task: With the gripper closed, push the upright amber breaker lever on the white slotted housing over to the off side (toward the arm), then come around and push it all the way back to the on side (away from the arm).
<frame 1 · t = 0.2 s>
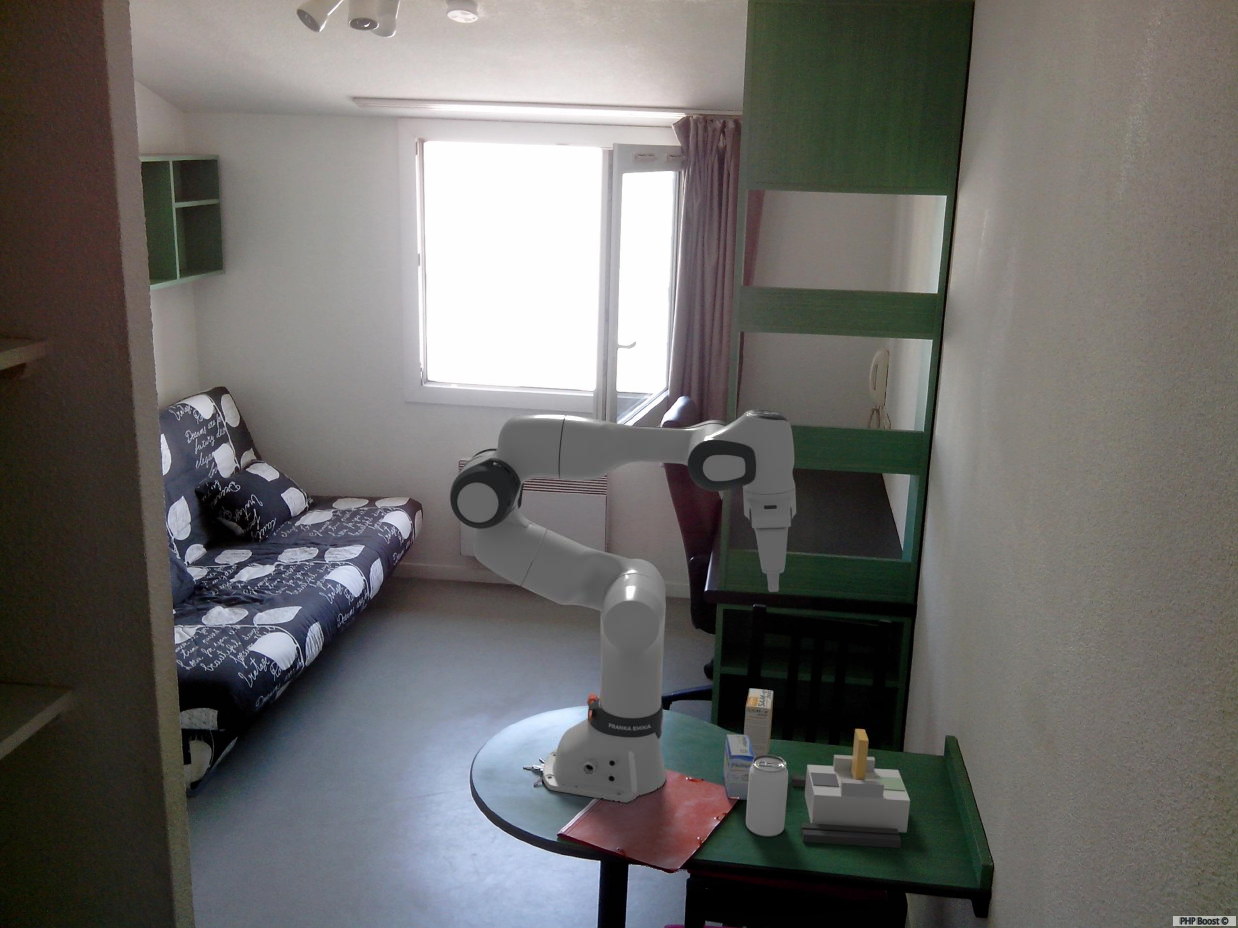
hand: (772, 580, 182), 39 cm above the table, tool pointing down, fingers open, 8 cm apart
medicine box: (737, 788, 190), on the table
white slotted housing: (854, 812, 183), on the table
dark grey flat bar: (848, 835, 176), on the table
cord back: (835, 786, 191), on the table
supplement box: (755, 762, 199), on the table
can: (764, 827, 178), on the table
lever: (859, 757, 181), point 11 cm above the table, hinge at 0.0°
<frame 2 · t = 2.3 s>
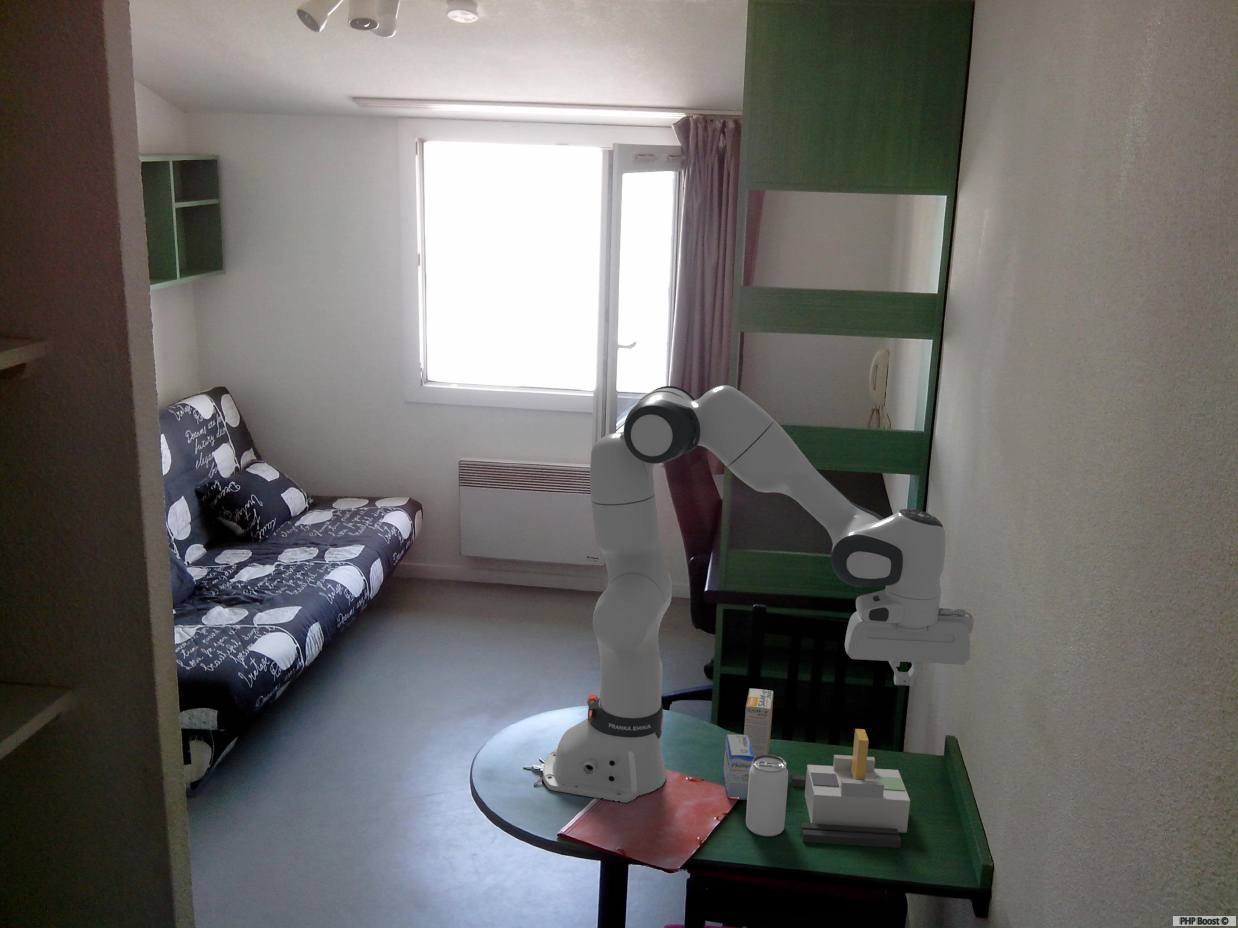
hand: (903, 683, 177), 25 cm above the table, tool pointing down, fingers closed
nothing on the table moved.
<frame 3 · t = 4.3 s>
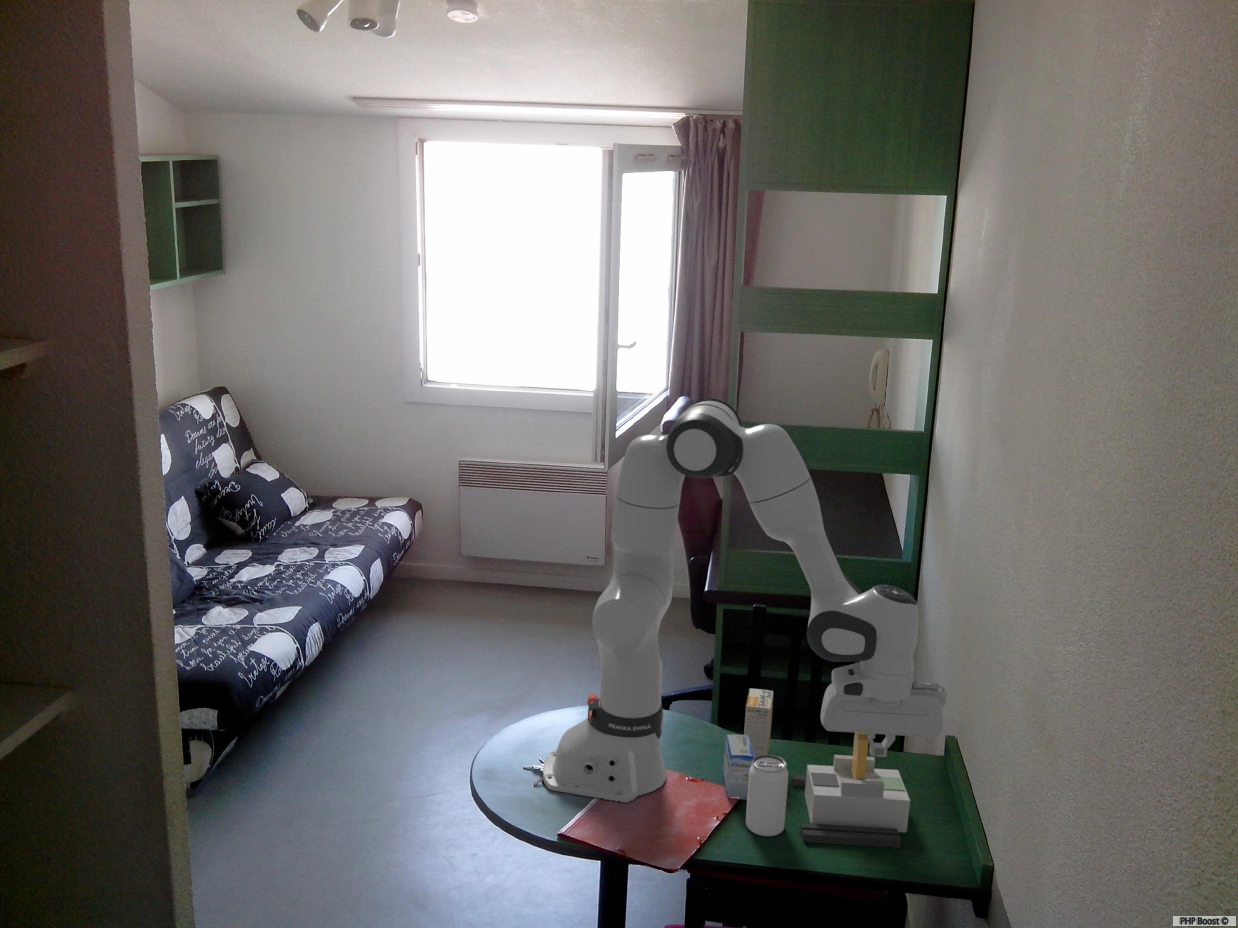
hand: (877, 754, 180), 11 cm above the table, tool pointing down, fingers closed
lever: (859, 757, 181), point 11 cm above the table, hinge at -0.2°, touching gripper
everything else where it was.
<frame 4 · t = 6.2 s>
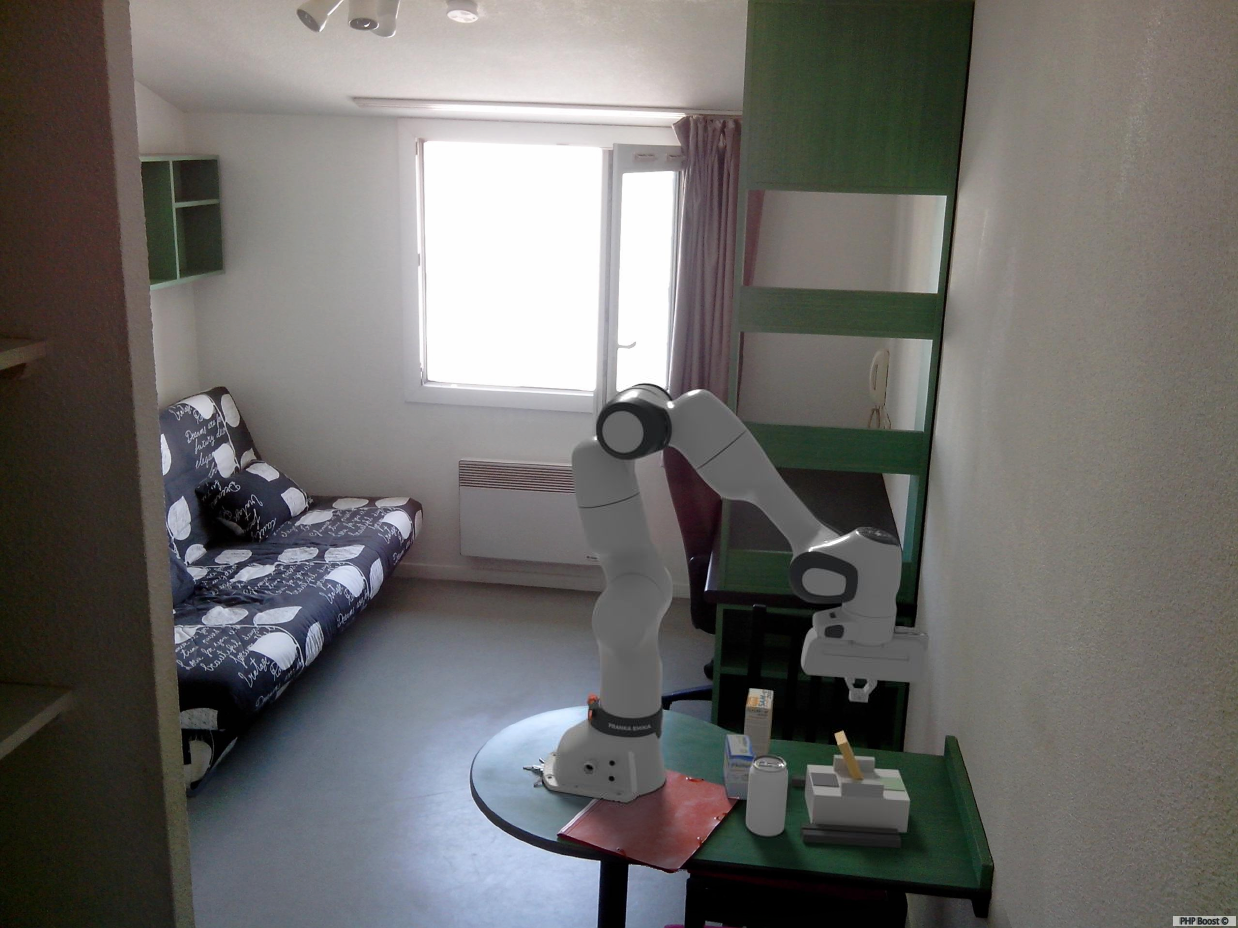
hand: (858, 700, 178), 21 cm above the table, tool pointing down, fingers closed
lever: (850, 759, 181), point 10 cm above the table, hinge at -26.3°
everything else where it was.
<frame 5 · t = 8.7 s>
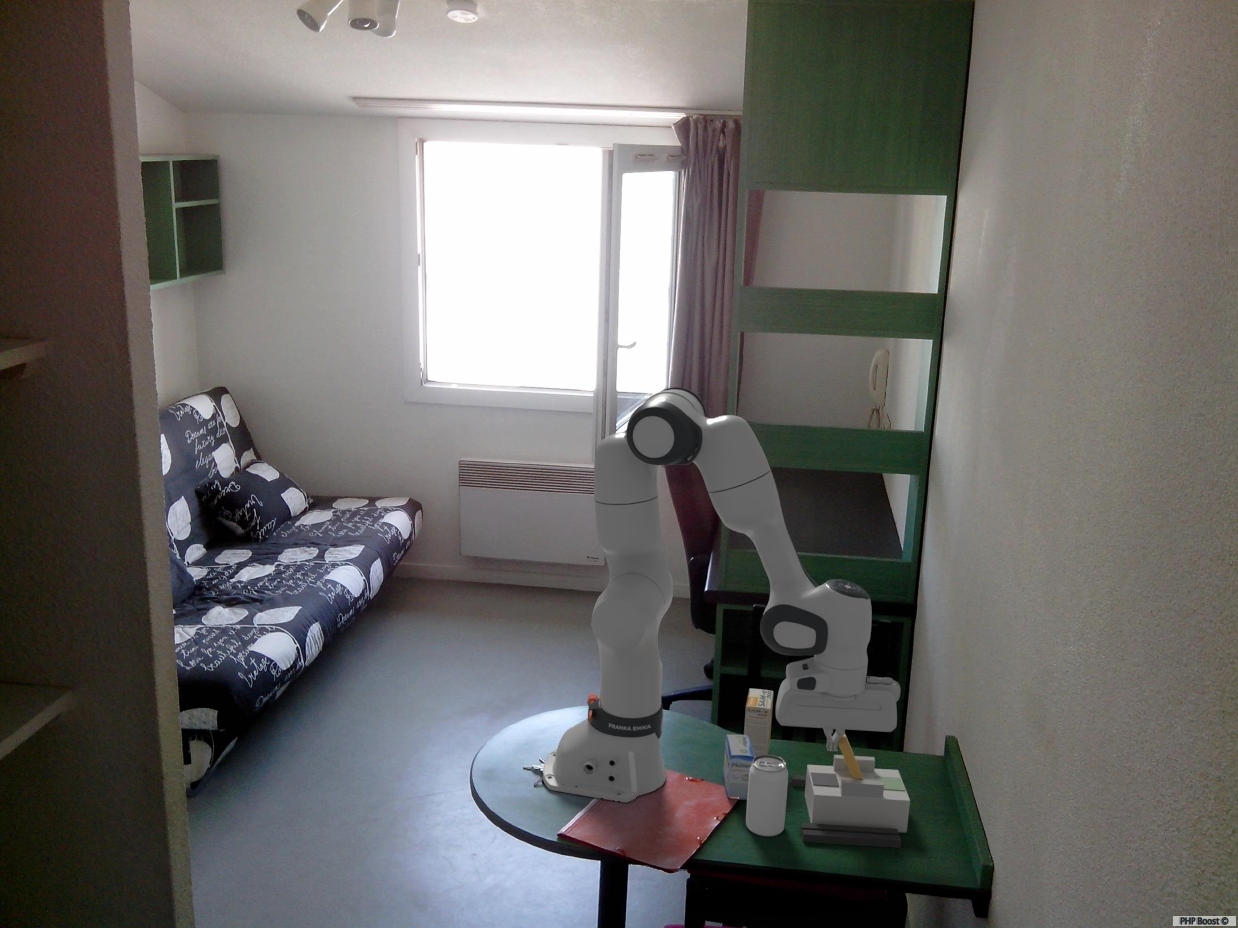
hand: (832, 749, 180), 12 cm above the table, tool pointing down, fingers closed, pressing on lever
lever: (850, 759, 181), point 10 cm above the table, hinge at -25.6°, touching gripper
everything else where it was.
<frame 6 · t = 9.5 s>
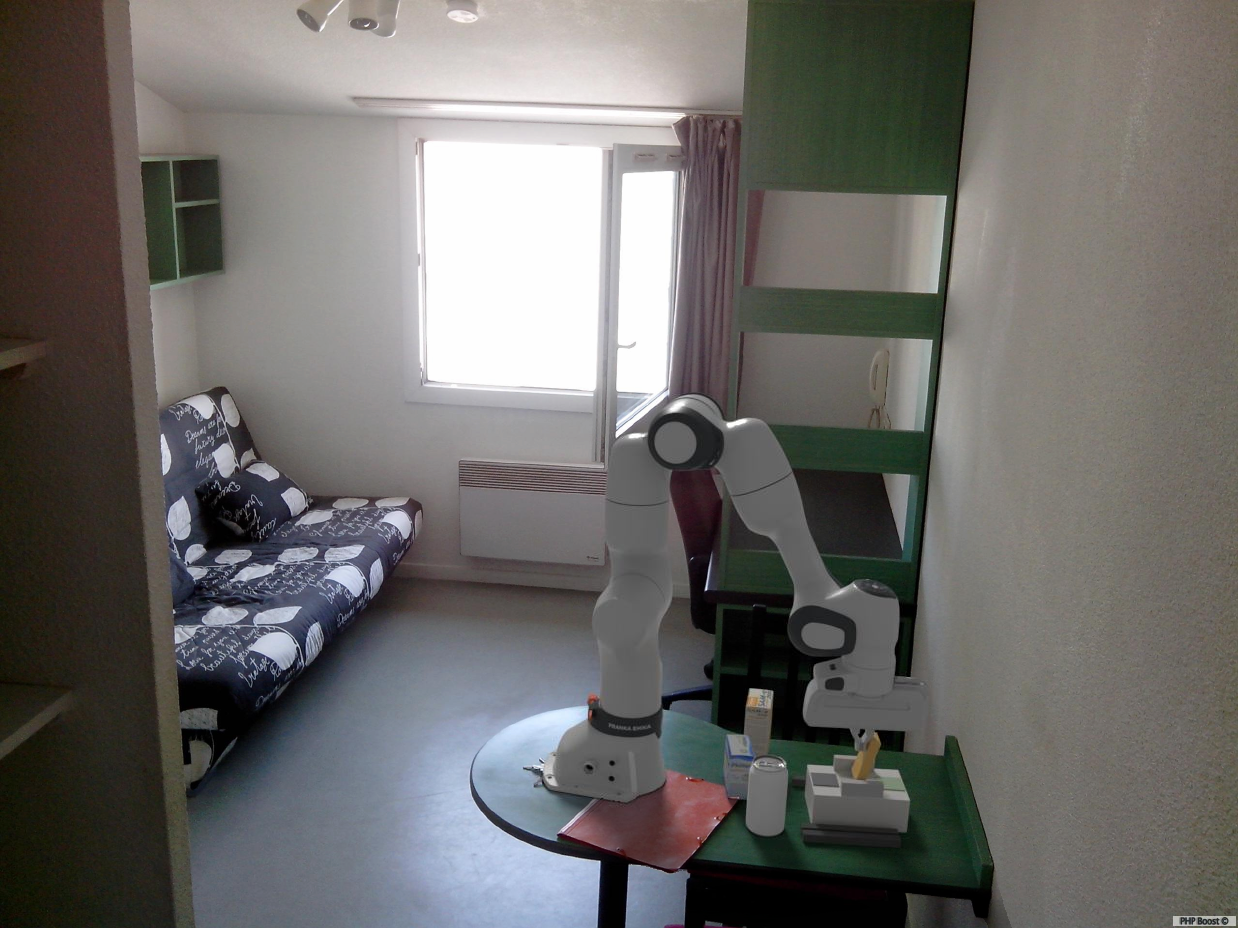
hand: (860, 749, 180), 12 cm above the table, tool pointing down, fingers closed
lever: (865, 758, 181), point 10 cm above the table, hinge at 15.8°, touching gripper
everything else where it was.
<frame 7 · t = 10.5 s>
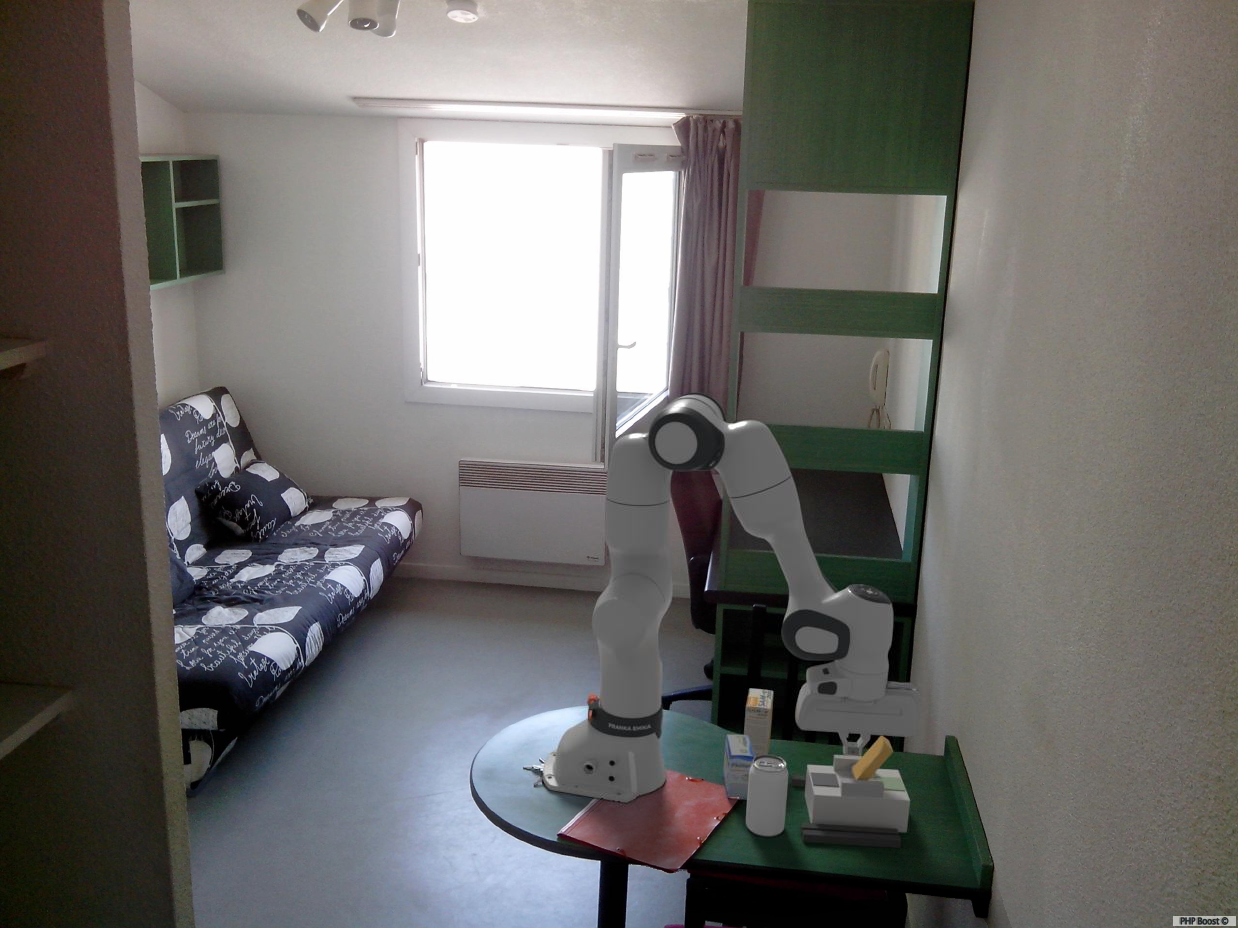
hand: (851, 753, 181), 11 cm above the table, tool pointing down, fingers closed
lever: (870, 761, 181), point 10 cm above the table, hinge at 33.6°
everything else where it was.
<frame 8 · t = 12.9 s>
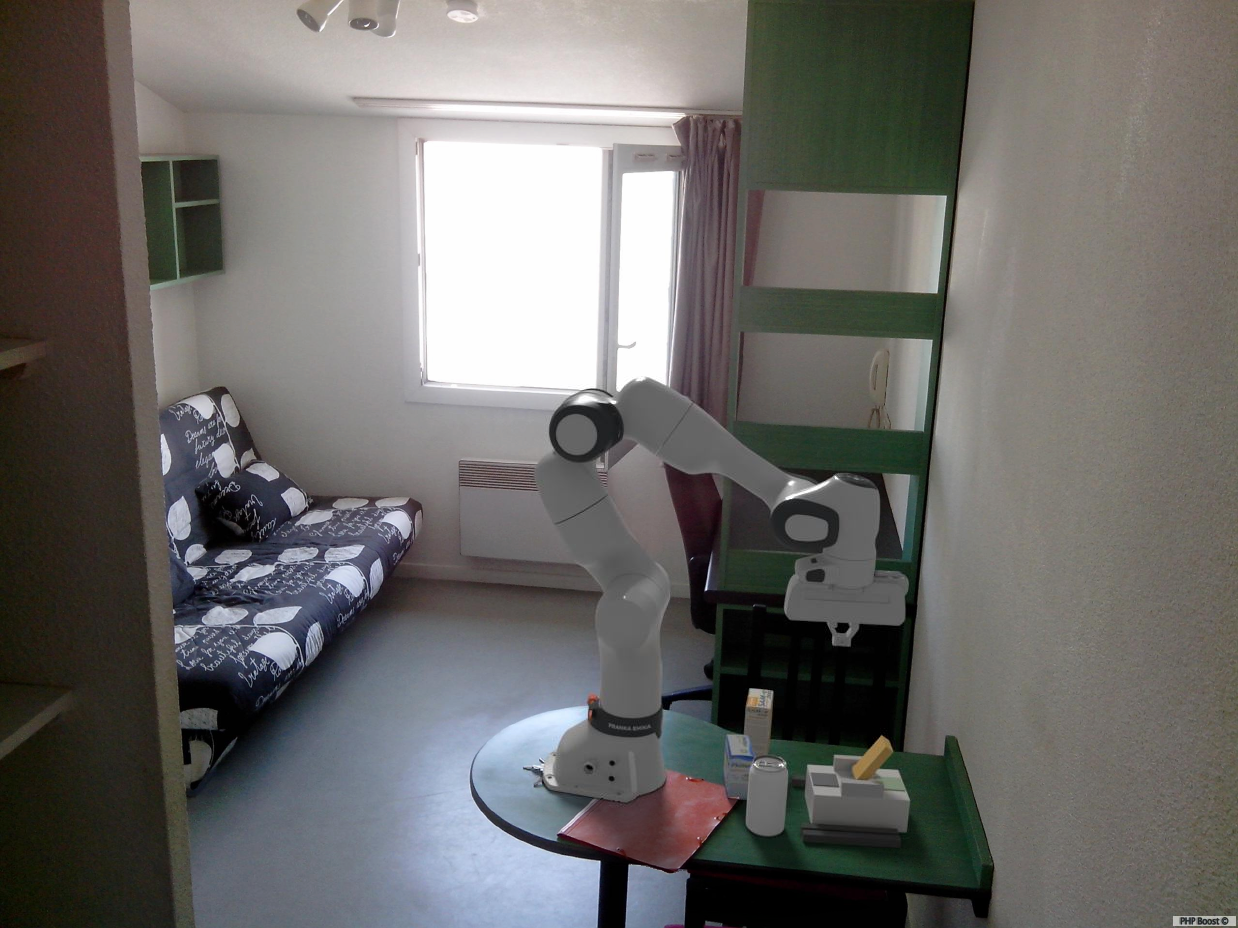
hand: (841, 644, 181), 29 cm above the table, tool pointing down, fingers closed
lever: (871, 761, 181), point 10 cm above the table, hinge at 33.9°
everything else where it was.
at the end: lever at +34° (first picture: +0°); lever touching nothing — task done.
